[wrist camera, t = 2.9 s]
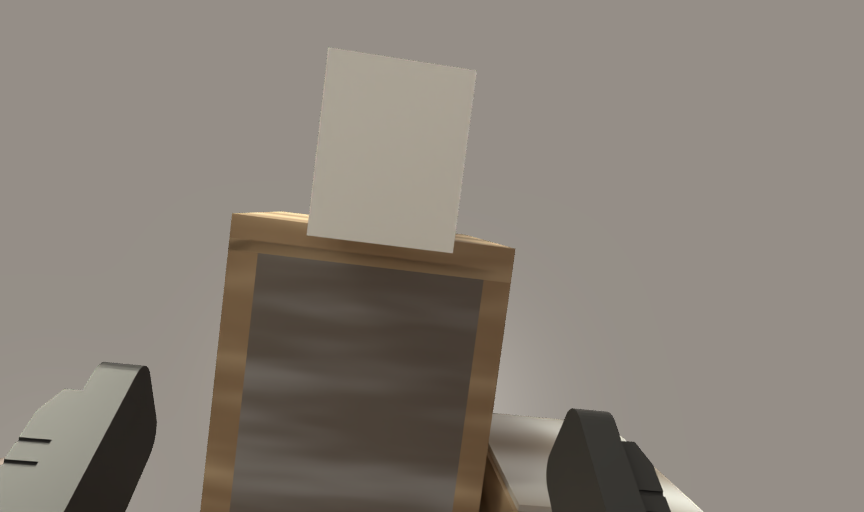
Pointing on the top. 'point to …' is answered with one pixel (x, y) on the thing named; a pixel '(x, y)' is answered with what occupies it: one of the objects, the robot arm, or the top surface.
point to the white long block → (390, 151)
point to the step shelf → (368, 380)
